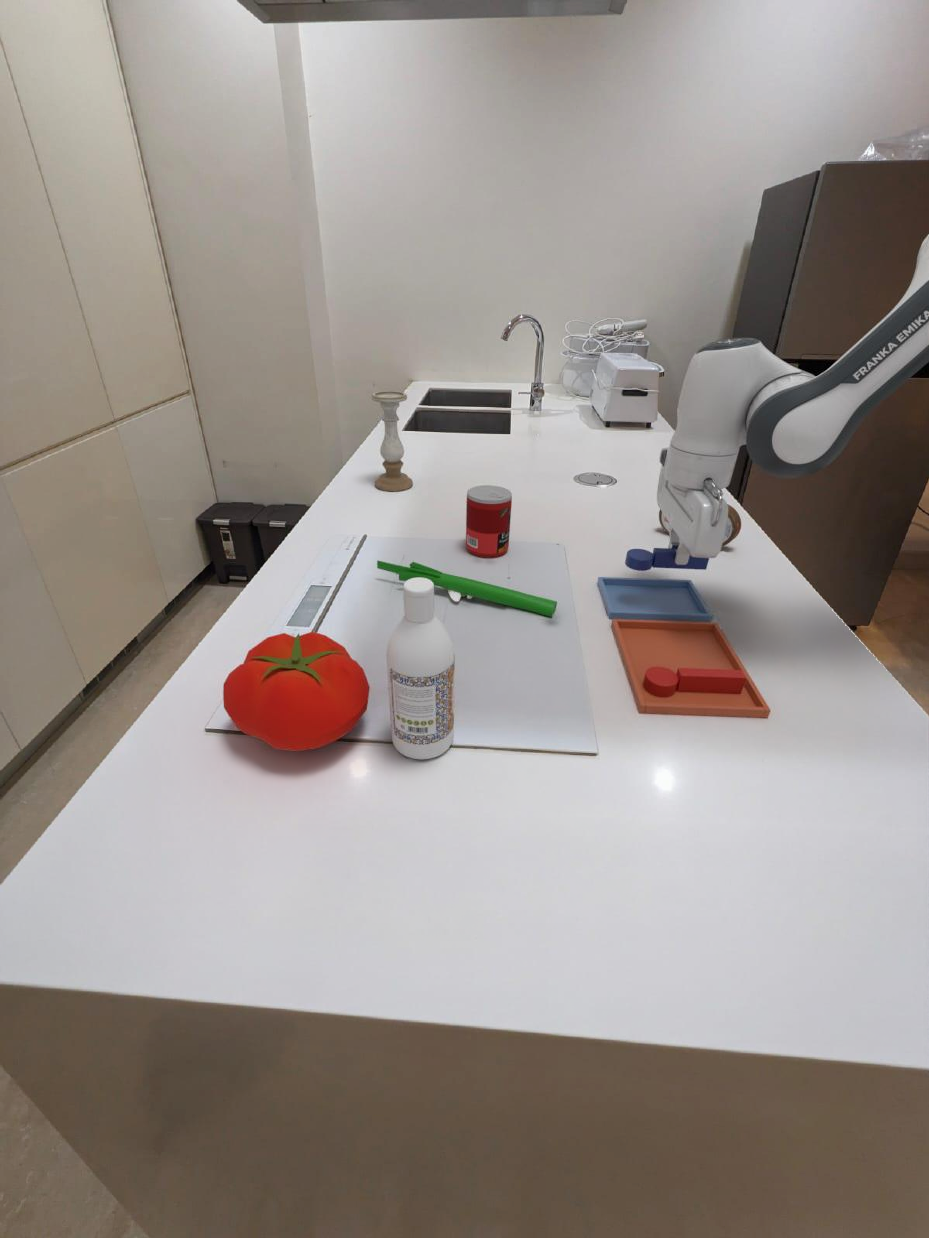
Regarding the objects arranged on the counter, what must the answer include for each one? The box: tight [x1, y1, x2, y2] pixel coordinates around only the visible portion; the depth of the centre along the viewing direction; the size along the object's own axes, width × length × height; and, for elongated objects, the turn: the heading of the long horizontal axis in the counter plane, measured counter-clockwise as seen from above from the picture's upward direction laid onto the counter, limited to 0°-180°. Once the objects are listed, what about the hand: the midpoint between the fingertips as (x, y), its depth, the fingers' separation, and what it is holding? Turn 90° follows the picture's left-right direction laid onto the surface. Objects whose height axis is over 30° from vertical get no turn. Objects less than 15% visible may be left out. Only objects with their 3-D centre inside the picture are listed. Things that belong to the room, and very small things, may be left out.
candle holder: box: [371, 390, 414, 492], centre depth 130 cm, size 9×9×20 cm
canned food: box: [465, 484, 513, 559], centre depth 104 cm, size 8×8×11 cm
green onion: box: [376, 560, 558, 618], centre depth 91 cm, size 5×3×30 cm
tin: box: [658, 503, 742, 547], centre depth 110 cm, size 15×3×8 cm, turn 51°
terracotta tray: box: [610, 619, 771, 719], centre depth 77 cm, size 15×19×2 cm
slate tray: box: [596, 576, 713, 622], centre depth 91 cm, size 15×11×2 cm
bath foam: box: [386, 577, 456, 760], centre depth 60 cm, size 7×7×20 cm
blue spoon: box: [624, 547, 710, 572], centre depth 87 cm, size 12×4×3 cm, turn 88°
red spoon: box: [643, 666, 746, 697], centre depth 73 cm, size 12×4×3 cm, turn 88°
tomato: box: [222, 631, 370, 752], centre depth 65 cm, size 14×16×10 cm
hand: (677, 558), depth 87 cm, fingers closed on blue spoon
